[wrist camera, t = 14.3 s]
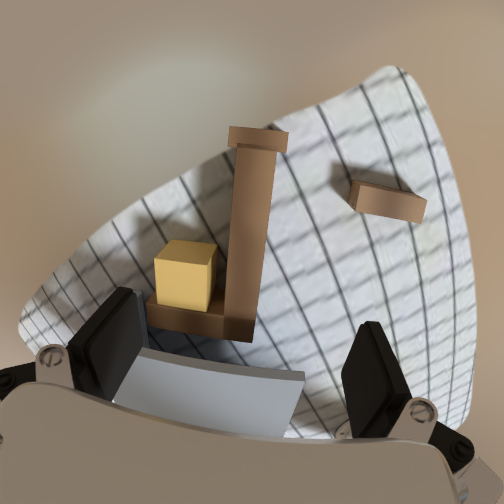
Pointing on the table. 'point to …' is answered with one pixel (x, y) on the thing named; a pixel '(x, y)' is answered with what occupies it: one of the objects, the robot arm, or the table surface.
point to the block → (186, 274)
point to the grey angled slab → (209, 391)
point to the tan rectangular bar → (386, 202)
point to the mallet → (236, 245)
